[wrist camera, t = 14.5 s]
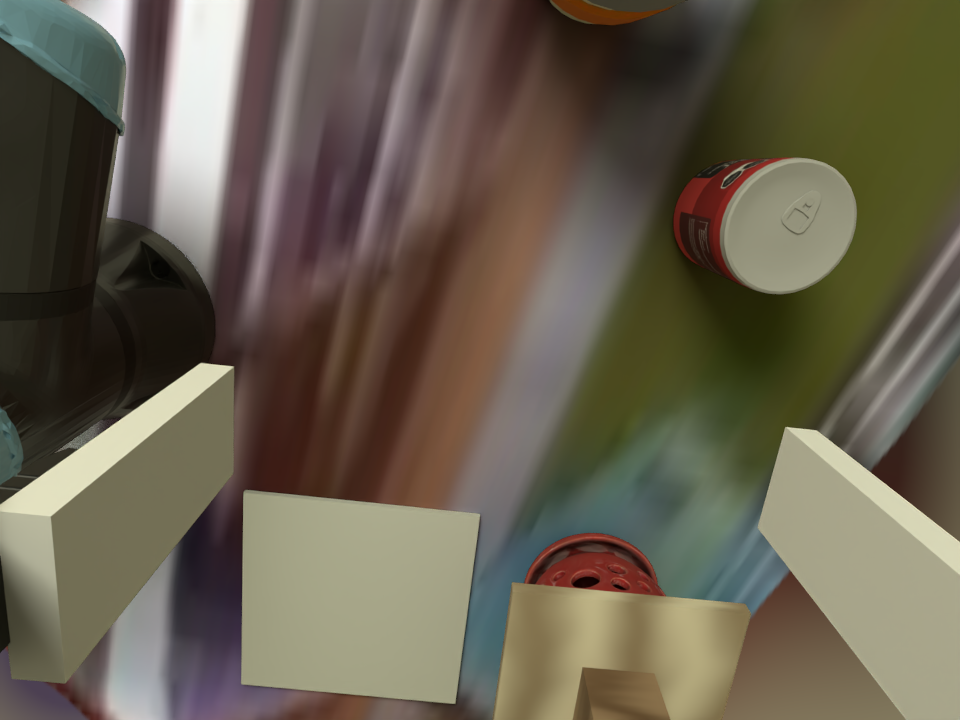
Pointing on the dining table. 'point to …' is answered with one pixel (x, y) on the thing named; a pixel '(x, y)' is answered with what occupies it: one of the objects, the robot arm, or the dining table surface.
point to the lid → (616, 655)
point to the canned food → (767, 222)
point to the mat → (355, 596)
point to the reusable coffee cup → (612, 10)
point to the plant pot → (594, 566)
